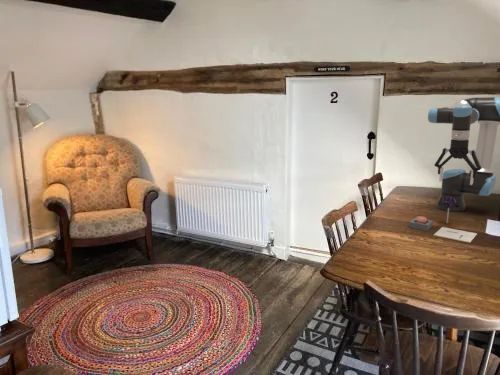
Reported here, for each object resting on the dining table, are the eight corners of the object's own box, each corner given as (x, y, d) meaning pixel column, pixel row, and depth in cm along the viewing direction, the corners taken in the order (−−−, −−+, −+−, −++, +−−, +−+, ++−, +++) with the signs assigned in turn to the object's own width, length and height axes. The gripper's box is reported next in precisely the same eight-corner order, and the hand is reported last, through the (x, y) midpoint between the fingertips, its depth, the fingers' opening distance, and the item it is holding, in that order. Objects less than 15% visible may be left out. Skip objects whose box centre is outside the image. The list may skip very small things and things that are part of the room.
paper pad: (442, 227, 206) (442, 226, 206) (476, 234, 196) (477, 233, 196) (433, 235, 196) (433, 234, 196) (470, 242, 186) (470, 241, 186)
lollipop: (455, 225, 209) (458, 197, 205) (441, 225, 210) (444, 197, 207) (452, 221, 215) (455, 194, 212) (438, 220, 217) (441, 194, 213)
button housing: (415, 222, 214) (415, 217, 214) (432, 226, 209) (433, 220, 208) (409, 227, 208) (409, 221, 207) (427, 231, 202) (427, 225, 201)
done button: (417, 221, 211) (418, 215, 210) (427, 222, 208) (428, 217, 207) (414, 223, 207) (415, 218, 207) (424, 225, 204) (425, 219, 203)
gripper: (429, 138, 194) (426, 180, 200) (488, 141, 179) (483, 187, 184) (434, 136, 200) (431, 177, 205) (491, 139, 184) (486, 184, 190)
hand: (455, 182), depth 195 cm, fingers open, 13 cm apart
